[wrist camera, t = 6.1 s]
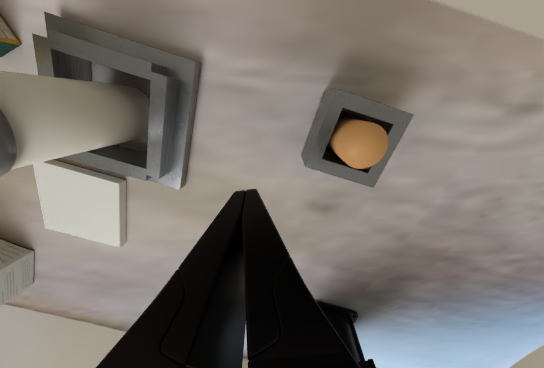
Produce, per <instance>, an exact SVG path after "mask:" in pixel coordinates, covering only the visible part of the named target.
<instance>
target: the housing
mask: <svg viewBox="0 0 544 368" xmlns="http://www.w3.org/2000/svg"><path fill="white" fill-rule="evenodd" d="M44 13H45V21H46V29H47V37H48V38H47V37H43V36H39V35H36V34H32V35H33V42H34V49H35V55H36V62H37V68H38V75H39V76H48V77H56V78H65V79H73V80H82V81H91V82H92V78H91V62H95V63H98V64H101V65H104V66H107V67H110V68H113V69H117V70H120V71H123V72H126V73H129V74H132V75H135V76H139V77H142V78H145V79H148V80H151V83H150V105H149V126H148V147H147V154H145V153H142V152H138V151H135V150H131V149H128V148H125V147H121V146H118V145H111V146H106V147H102V148H98V149H94V150H90V151H86V152H81V153H77V154H73V155H69V156H65V157H64V158H68V159H71V160H75V161H78V162H82V163H85V164H89V165H92V166H96V167H99V168H103V169H106V170H110V171H113V172H117V173H120V174H123V175H127V176H130V177H134V178H137V179H141V180H144V181H147V180H148V181H152V182H155V183H159V184H162V185H166V186H169V187H173V188H176V189H181V188H182V187H183V186H185V182H186V175H187V167H188V160H189V152H190V145H191V137H192V130H193V122H194V115H195V107H196V100H197V92H198V85H199V78H200V70H201V64H200V63H198V62H195V61H192V60H189V59H186V58H183V57H180V56H177V55H174V54H171V53H168V52H165V51H162V50H159V49H156V48H153V47H150V46H147V45H144V44H141V43H138V42H135V41H132V40H129V39H126V38H122V37H119V36H116V35H113V34H110V33H107V32H104V31H101V30H98V29H95V28H92V27H89V26H86V25H83V24H80V23H77V22H74V21H71V20H68V19H65V18H62V17H59V16H56V15H53V14H50V13H47V12H44Z"/></svg>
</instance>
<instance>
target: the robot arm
mask: <svg viewBox="0 0 544 368" xmlns="http://www.w3.org/2000/svg"><path fill="white" fill-rule="evenodd" d="M357 318H358V314H357V312H355V311H352V310H348V309H344V308H340V307H337V306H333V305H329V304H325V303H321V302H316V301H315V299H314V297H313V296H312V294H311V293H310V291H309V290H308V288H307V286H306V285H305V283H304V281H303V279H302V278H301V276H300V274H299V272H298V270H297V268H296V266H295V264H294V262H293V260H292V258H291V257H290V255H289V253H288V251H287V249H286V247H285V245H284V243H283V241H282V239H281V237H280V235H279V233H278V231H277V229H276V227H275V225H274V223H273V221H272V219H271V217H270V215H269V213H268V211H267V209H266V207H265V205H264V203H263V201H262V199H261V197H260V195H259V193H258V191H257V189H249V190H246V191H245V190H242V191H236V192H234V193H233V195H232V196H231V197H230V199H229V200H228V202H227V203H226V204H225V206H224V207H223V208H222V210H221V211H220V212H219V214H218V215H217V216H216V218H215V219H214V220H213V222H212V223H211V224H210V226H209V227H208V229H207V230H206V231H205V233H204V234H203V235H202V237H201V238H200V239H199V241H198V242H197V243H196V245H195V246H194V247H193V249H192V250H191V251H190V253H189V254H188V256H187V257H186V258H185V260H184V261H183V262H182V264H181V265H180V266H179V270H176V272H175V273H174V274H173V276H172V277H171V278H170V280H169V281H168V282H167V284H166V285H165V286H164V288H163V289H162V290H161V291H160V293H159V294H158V295H157V297H156V298H155V299H154V300H153V302H152V303H151V304H150V305H149V306H148V308H147V309H146V310H145V311H144V312H143V314H142V315H141V316H140V317H139V318H138V319H137V321H136V322H135V323H134V324H133V325H132V326H131V328H130V329H129V330H128V331H127V332H126V333H125V335H124V336H123V337H122V338H121V339H120V340H119V342H118V343H117V344H116V345H115V346H114V347H113V349H112V350H111V351H110V352H109V353H108V354H107V355H106V357H105V358H104V359H103V360H102V361H101V362H100V364H99V365H98V366H97V367H96V368H242V360H243V348H244V337H245V325H246V329H247V354H248V360H249V362H248V368H376V367H375V364H374V361H373V359H368V361H365V359H364V356H363V352H362V349H361V346H360V343H359V340H358V337H357V334H356V330H355V327H354V324H353V323H354V322H355V321H356V319H357Z"/></svg>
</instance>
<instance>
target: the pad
mask: <svg viewBox="0 0 544 368" xmlns="http://www.w3.org/2000/svg"><path fill="white" fill-rule="evenodd" d="M33 167H34V172H35V177H36V182H37V188H38V193H39V198H40V203H41V208H42V213H43V219H44V224H45V228H47V229H51V230H55V231H58V232H62V233H66V234H70V235H74V236H77V237H81V238H85V239H89V240H92V241H96V242H100V243H104V244H108V245H111V246H115V247H119V248H120V247H121V246H122V245H124V244H125V243H126V180H123V179H119V178H116V177H112V176H109V175H105V174H102V173H98V172H95V171H91V170H88V169H84V168H81V167H77V166H74V165H70V164H67V163H63V162H60V161H56V160H53V159H52V160H48V161H44V162H40V163H35V164H33Z"/></svg>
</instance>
